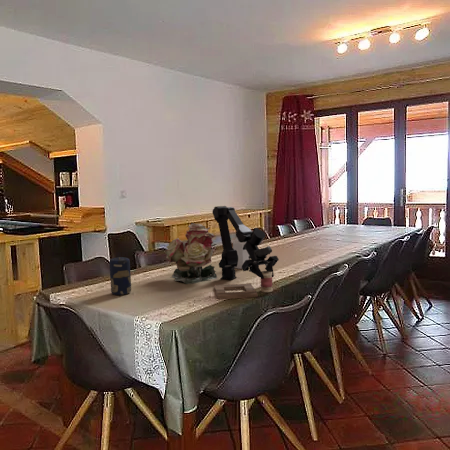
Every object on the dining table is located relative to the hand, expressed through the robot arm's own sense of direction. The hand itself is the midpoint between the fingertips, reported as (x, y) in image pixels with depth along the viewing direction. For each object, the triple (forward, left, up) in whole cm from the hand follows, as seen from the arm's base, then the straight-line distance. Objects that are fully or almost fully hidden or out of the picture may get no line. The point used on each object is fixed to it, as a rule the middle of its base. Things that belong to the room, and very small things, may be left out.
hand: (268, 277), depth 207 cm
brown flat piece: (-13, -8, -7) cm, 17 cm away
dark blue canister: (-61, -34, -7) cm, 71 cm away
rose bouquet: (-48, +7, -7) cm, 50 cm away
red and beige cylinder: (-1, +1, -7) cm, 7 cm away
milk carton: (-39, +43, -7) cm, 58 cm away
